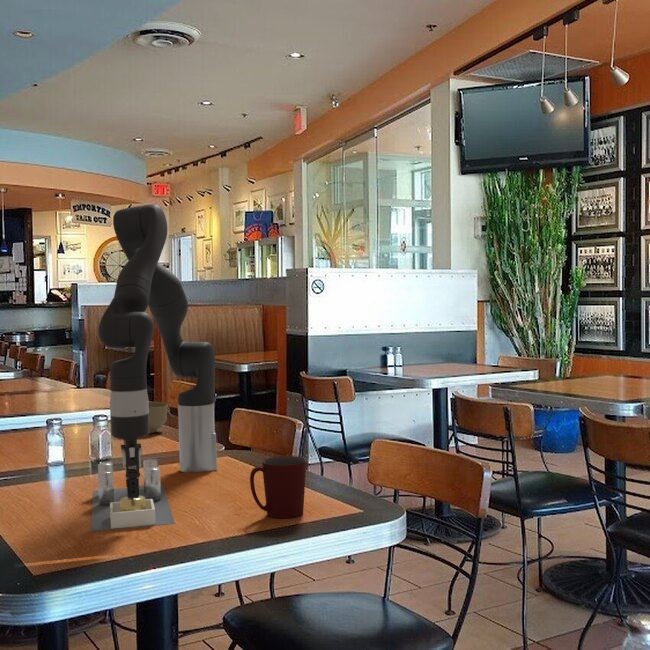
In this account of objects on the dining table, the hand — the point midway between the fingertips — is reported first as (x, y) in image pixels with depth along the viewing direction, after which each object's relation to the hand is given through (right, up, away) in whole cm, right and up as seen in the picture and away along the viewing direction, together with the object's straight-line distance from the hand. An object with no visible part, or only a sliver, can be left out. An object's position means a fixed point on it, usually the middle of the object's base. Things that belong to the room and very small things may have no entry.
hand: (132, 492), depth 162 cm
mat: (-3, -6, +12) cm, 13 cm away
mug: (+29, -6, +4) cm, 30 cm away
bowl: (-20, -2, +107) cm, 108 cm away
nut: (0, -5, 0) cm, 5 cm away
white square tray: (0, -6, 0) cm, 6 cm away
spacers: (-5, -5, +19) cm, 20 cm away
